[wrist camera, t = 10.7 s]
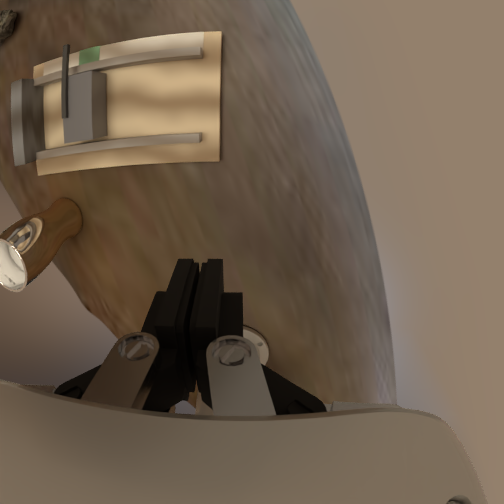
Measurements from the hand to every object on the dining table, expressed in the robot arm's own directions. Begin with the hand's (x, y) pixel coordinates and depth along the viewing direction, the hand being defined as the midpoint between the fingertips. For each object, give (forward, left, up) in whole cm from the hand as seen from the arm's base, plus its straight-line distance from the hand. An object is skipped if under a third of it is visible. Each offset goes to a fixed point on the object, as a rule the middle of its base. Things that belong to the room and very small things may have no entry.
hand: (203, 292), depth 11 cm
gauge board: (+9, +14, -27) cm, 32 cm away
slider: (+11, +17, -25) cm, 32 cm away
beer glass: (-6, +24, -27) cm, 37 cm away
